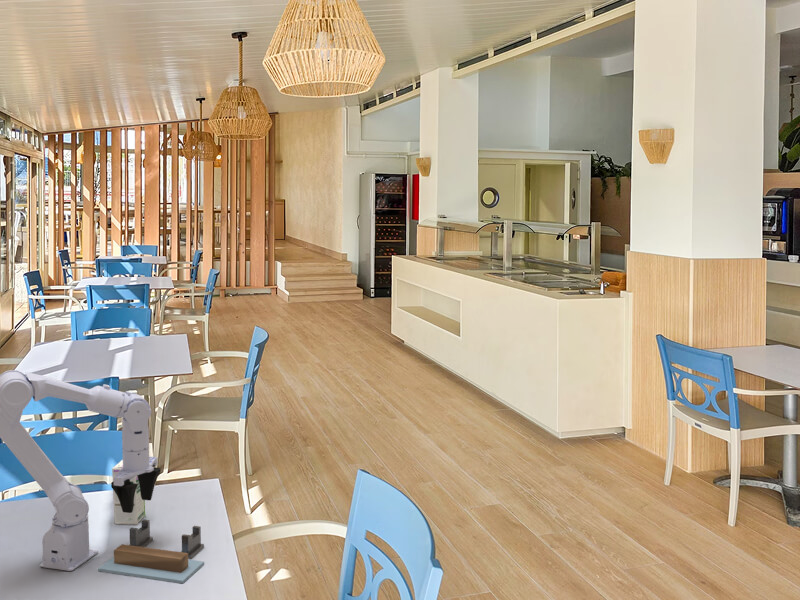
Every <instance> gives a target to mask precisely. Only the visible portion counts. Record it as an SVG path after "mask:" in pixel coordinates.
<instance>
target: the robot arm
mask: <svg viewBox="0 0 800 600" xmlns="http://www.w3.org/2000/svg"><path fill="white" fill-rule="evenodd" d="M48 397H50V398H55V399H61V400H65V401H70V402H75V403H80V404H85V406H86V408H87V410H88V411H89V412H92V413H97V414H100V415H104V416H109V417H113V418H116V419H117V418H118V419H119V418H122V419H121V420H122V428H121V437H122V438H121V441H122V444H121V445H122V450H121V451H122V460H123V467H122V468H121V470H120V471H119V473H118V474H117V475H116V476H114V477H113V476H112V479H113V478H114V481H113V480H112V482H111V483H110V485H111V486H110V487H111V488H112V491H113V490H114V491H115V493H116V494H117V496H118V499H119V501H120V504H121V508H122V511H123V512H126V513H131V512H132V511H133V506H134V495H135V491H136V488H137V486H138V484H135V483H131V482H130V479H132V478H133V477H135V476H137V477H138V480H139V484H140V492H141V498H142V500H145V501H151V500H152V498H153V494H154V489H155V486H156V484H157V483H156V482H157V479H158V477H159V475H160V474H161V472H162V469H161V468H160V467H158V464H159V463H158V457H156V456H150V430H149V429H150V427H149V419H150V417H151V416H152V411H153V410H152V408H151V406H150V404H149V402H148V401H147V399H145V398H144V397H143V396H142V395H140V394H138V393H136V392H133V391H132V392H131V391H129V390H126V391H125V392H124V391H120V390H115V389H113V388H111V386H110V385H108V384H104V383H103V384H102V386H101V385H96V386H93V387H92V388H86V387H83V386H79V385H76V384H72V383H69V382H66V381H63V380H58V379H55V378H52V377H50V376H49V377H48V376H44V375H40V374H37V373H32V372H25V373H23V372H22V371H19V370H15V369H14V370H13V369H10V370H6V371H3V372H2V373H1V374H0V439H1V440H2V442H3V443H4V444H5V445H6V446H7V448H8V449H9V450H10V452H11V453H12V454H13V455H14V456H15V457H16V459H17V460H18V461H19V463H20V464H21V465H22V466H23V468H24V469H25V470H26V471H27V472H28V474H29V475H30V476H31V477H32V478H33V480H34V481H35V482H36V483H37V484H38V485H39V487H40V488H41V489H42V490H43V492H44V493H45V495H46V496H47V497H48V499H49V501H50V502H51V504H52V506H53V508H54V509H55V514H54V515H53V517H52V520H51V521H52V524H51V526H50V528H49V529H48V530H47V531H46V532H45V533H44V535H43V536H42V542H41V543H42V562H41V563H40V564H39V567H42V568H46V569H47V568H48V569H53V570H54V569H55V570H60V571H65V572H67V571H68V572H72V571H75V570H76V569H77V568H78V567H80V566H81V565H83V564H85V562H87V561H88V560H90V559H91V558H93V557H94V556H96V555H97V554H98V553H99V551H98V550H97V549H90V530H89V529H90V526H89V525H90V524H89V510H90V506H89V503H88V501H87V499H85V497H84V496H83V492H82V489H81V488H80V487H79V486H78V485H76V484H73V483H71V482H70V481H68V479H67V478H66V477H65V476H64V475H63V474H62V473H61V472H60V471H59V469H57V467H56V466H55V464H54V463H53V462H52V460H50V458H49V457H48V456H47V455H46V453H45V452H44V451H43V450H42V449H41V447H40V446H39V444H38V443H37V442H36V441H35V440H34V438H33V437H32V436H31V434H30V433H29V432H28V431H27V429H26V428H25V427H24V426H23V425H22V423H21V418H22V416H23V413H24V412H23V411H24V410H25V408H26V407H27V406H28V404H29V403H30V402H31V401H32V399H33V401H34V402H38V401H40V400H42V399H45V398H48ZM156 466H157V467H156Z"/></svg>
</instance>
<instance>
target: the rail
mask: <svg viewBox="0 0 800 600" xmlns="http://www.w3.org/2000/svg"><path fill="white" fill-rule="evenodd" d="M113 557H114V563H116V564H123V565H130V566H137V567H144V568H151V569H158V570H165V571H172V572H179V573H182V572H183V571H184V570H185V569H186V568H187V567H188V553H183V552H181V551H175V550H167V549H160V548H153V547H147V546H145V547H139V546H131V545H130V544H120V545H119V546H118V547H116V548H115V549H114V550H113Z"/></svg>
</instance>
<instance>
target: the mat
mask: <svg viewBox="0 0 800 600" xmlns="http://www.w3.org/2000/svg"><path fill="white" fill-rule="evenodd" d="M204 565H205V561H201V560H195V559H188V567H187V568H186V569H185V570H184V571H183V572H182V573H179V572H172V571H165V570H158V569H151V568H144V567H137V566H130V565H123V564H116V563H114V556H113V557H112V558H110V559H109V560H108V561H106V562H105V563H103V564H102V565H100V566H99V567H98V568H97V571H98V572H102V573H109V574H115V575H122V576H130V577H136V578H144V579H148V580H149V579H150V580H156V581H163V582H171V583H177V584H184V583H185V582H186V581H188V579H190V578H191V577H192V576H193V575H194V574H195V573H196V572H198V570H200V569H201V568H202V567H203V566H204Z"/></svg>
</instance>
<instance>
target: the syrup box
mask: <svg viewBox="0 0 800 600" xmlns="http://www.w3.org/2000/svg"><path fill="white" fill-rule="evenodd" d="M122 467H123V459H121V460H120V461H119V462H118V463H117V464H115V466H113V467H112V468H111V471H112V473H111V475H112V482H113V481H114V478H113V477H114V476H116V475H117V474H118V473H119V471H120V470H121V468H122ZM130 482H131V483H135V484H138V486H137V488H136V491H135V495H134V506H133V511H132V512H131V513H126V512H123V511H122V508H121V504H120V501H119V499H118V496H117V494H116V493H115V491H114V490H113V489H112V492H113V493H112V495H113V497H112V498H113V517H114V524H115V525H138V524H139V523H140V521H142V520H143V518H144V517H146V500H142V498H141V492H140V484H139V480H138V477H137V476H135V477H133V478H132V479H130Z"/></svg>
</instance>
